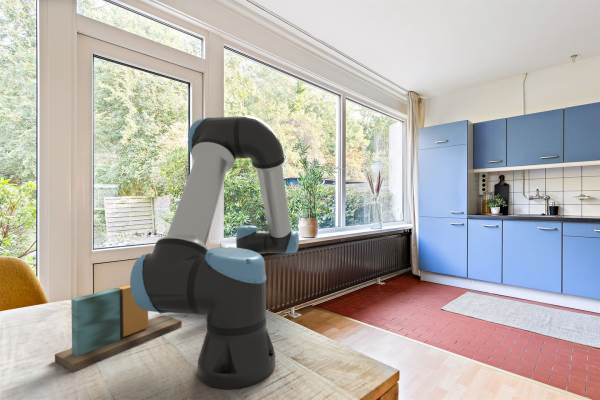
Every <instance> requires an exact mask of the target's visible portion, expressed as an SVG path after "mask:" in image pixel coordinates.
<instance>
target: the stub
mask: <svg viewBox="0 0 600 400" xmlns="http://www.w3.org/2000/svg"><path fill="white" fill-rule="evenodd" d="M117 289H121V290H122V336H123V337H124V336H127V335H130V334H132V333H135V332H137V331H140V330H143V329H145V328H148V320H149V311H146V310H143V309H141V308H140V307H139V306H138V305H137V304H136V303H135V301H134V299H133V297H132V292H131V289H130V284H128V285H127V284H126V285H124V286H120V287H117Z"/></svg>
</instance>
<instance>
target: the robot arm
mask: <svg viewBox="0 0 600 400" xmlns="http://www.w3.org/2000/svg"><path fill="white" fill-rule="evenodd" d="M187 138H188V140H187V146H188V150H189V153H190V155H191V158H192V159H193V164H192V166H191V169H190V171H189V172H190V173H189V175H188V178H187V181H186V183H185V186H184V188H183V191H182V193H181V196H180V199H179V202H178V203H177V207H176V210H175V212H174V215H173V218H172V220H171V224H170V226H169V229H168V232H167V234H166V236H163V237H160V238H159V239H157V241H156V243H155V245H154V247H153V250H152V252H151V253H150V252H148V253H145V254H141V256H140V257H138V258H137V259H136V260H135V262H134V264H133V266H132V268H131V272H130V277H129V285H130V289H131V292H132V297H133V299H134V301H135V303H136V304H137V305H138V306H139V307H140V308H141V309H143V310H146V311H148V312H153V313H154V312H155V313H158V314H166V313H167V314H168V313H171V314H191V315H205V316H206V333H205V337H204V340H203V343H202V346H201V350H200V353H199V356H198V360H197V376H198V378H199V380H200V381H201V382H202V383H204V384H205V385H207V386H210V387H213V388H215V389H225V390H226V389H227V390H228V389H229V390H230V389H231V390H232V389H240V388H246V387H249V386H251V385H252V386H253V385H255V384H257V383H260V382H261V381H263V380H265V379H266V378H267V377H269V376H270V375H271V374H272V373H273V371H274V370H275V366H276V352H275V348H274V345H273V342H272V339H271V337H270V336H271V335H270V333H269V331H268V327H267V289H266V287H267V273H266V263H265V259H264V257H263V255H261V254H263V253H264V254H285V255H286V254H296V253H297V252H298V250H299V244H300V240H299V239H300V237H299V234H298V232H297V231H294V230H291V229H292V228H291V221H290V213H289V207H288V200H287V194H286V193H287V192H286V186H285V185H286V184H285V179H284V170H283V164H284V163H285V153H284V149H283V146H282V143H281V142H280V139H279V138H278V136H277V134H276V133H275V131H274V130H273V129H272V128H271V127H270V126H269V125H268V124H267V123H266V122H265V121H263V120H261V119H260V118H258V117H256V116H251V115H243V116H218V117H216V116H215V117H206V118H205V117H204V118H198V119H197V120H195V121H194V122H193V123H192V124H191V125H190V128H189V130H188V133H187ZM236 159H249V160H251V165H252V167H253V168H254V169H256V172H257V177H258V182H259V188H260V192H261V199H262V203H263V207H264V214H265V220H266V224H267V228H268V229H267V231H264V230H263V231H262V230H258V229H259V228H258V226H256V225H239V226H237V228H236V236H235V237H236V238H235V243H236V244H235V245H236V247H234V246H233V247H231V246H229V247H223V246H221V247H220V246H219V247H212V248H210V249H208V247H207V246H206V245H207V241H208V238H209V235H210V231H211V227H212V224H213V221H214V217H215V213H216V209H217V205H218V203H219V199H220V195H221V193H222V192H221V191H222V189H223V186H224V185H223V184H224V183H225V182H224V181H225V178H226V174H227V172H228V171H231V169H233V168H234V166H235V162H236Z"/></svg>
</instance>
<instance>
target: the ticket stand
mask: <svg viewBox="0 0 600 400" xmlns="http://www.w3.org/2000/svg"><path fill="white" fill-rule="evenodd" d="M117 288H118V287H117ZM117 288H116V287H115V288H111V289H107V290H102V291H99V292H95V293H90V294H86V295H82V296H77V297H74V298H71V299H70V300H71V304H70V306H71V347H70V348H68V349H66V350H63V351H60V352H58V353H57V352H56V353H55V354H54V362H55V363H57V364H59V365H61V366H62V367H64V368H65V369H66V370H68V371H69V372H72V373H74V372H77V371H80V370H81V369H84V368H86V367H88V366H91V365H93V364H96V363H98V362H101V361H103V360H105V359H107V358H111V357H113V356H115V355H117V354H119V353H121V352H124V351H126V350H129V349H131V348H133V347H136V346H139V345H141V344H143V343H146V342H148V341H150V340H152V339H155V338H157V337H159V336H162V335H165V334H167V333H169V332H172V331H174V330H177V329H180V328H182V320H180V319H177V318H174V317H171V316H168V315H164V314H162V315H159V316H156V317H154V318H151V319H148V328H145V329H143V330H140V331H137V332H135V333H132V334H130V335H127V336H124V337H123V336H122V290H121V289H117Z"/></svg>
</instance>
